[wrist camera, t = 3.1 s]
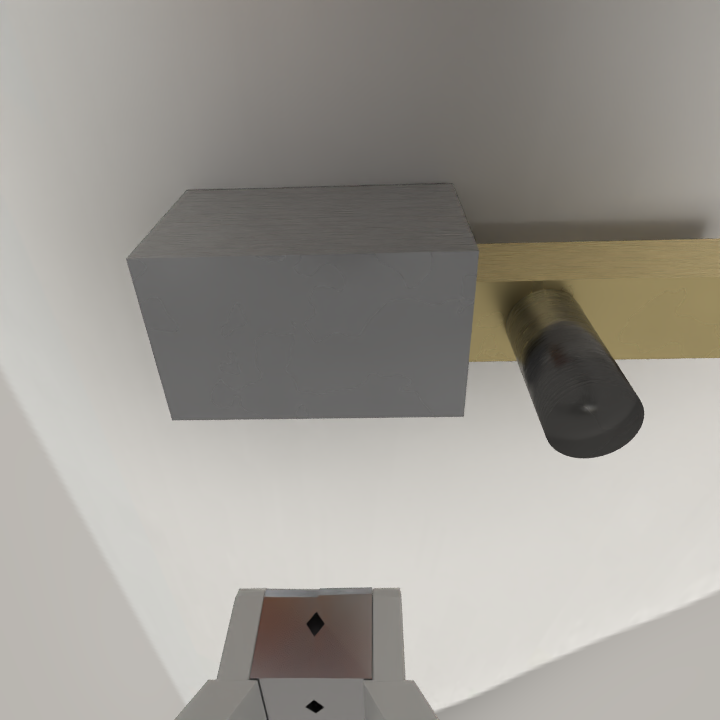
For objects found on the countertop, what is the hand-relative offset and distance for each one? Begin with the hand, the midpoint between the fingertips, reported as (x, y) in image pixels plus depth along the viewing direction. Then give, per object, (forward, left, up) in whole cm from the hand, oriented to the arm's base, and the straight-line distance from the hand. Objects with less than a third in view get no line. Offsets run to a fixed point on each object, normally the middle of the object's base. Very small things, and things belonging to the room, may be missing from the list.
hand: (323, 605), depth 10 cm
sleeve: (0, -1, -15) cm, 15 cm away
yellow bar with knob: (0, +4, -13) cm, 13 cm away
